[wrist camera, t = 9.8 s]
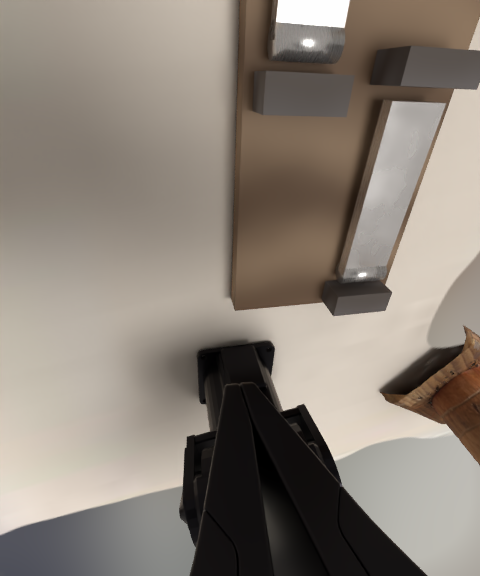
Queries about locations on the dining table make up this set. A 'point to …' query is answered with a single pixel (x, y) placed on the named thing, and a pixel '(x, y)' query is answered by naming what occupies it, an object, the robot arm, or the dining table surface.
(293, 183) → the walnut board
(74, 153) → the dining table surface
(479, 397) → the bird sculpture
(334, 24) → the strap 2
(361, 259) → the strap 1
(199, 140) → the dining table surface
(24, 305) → the dining table surface
